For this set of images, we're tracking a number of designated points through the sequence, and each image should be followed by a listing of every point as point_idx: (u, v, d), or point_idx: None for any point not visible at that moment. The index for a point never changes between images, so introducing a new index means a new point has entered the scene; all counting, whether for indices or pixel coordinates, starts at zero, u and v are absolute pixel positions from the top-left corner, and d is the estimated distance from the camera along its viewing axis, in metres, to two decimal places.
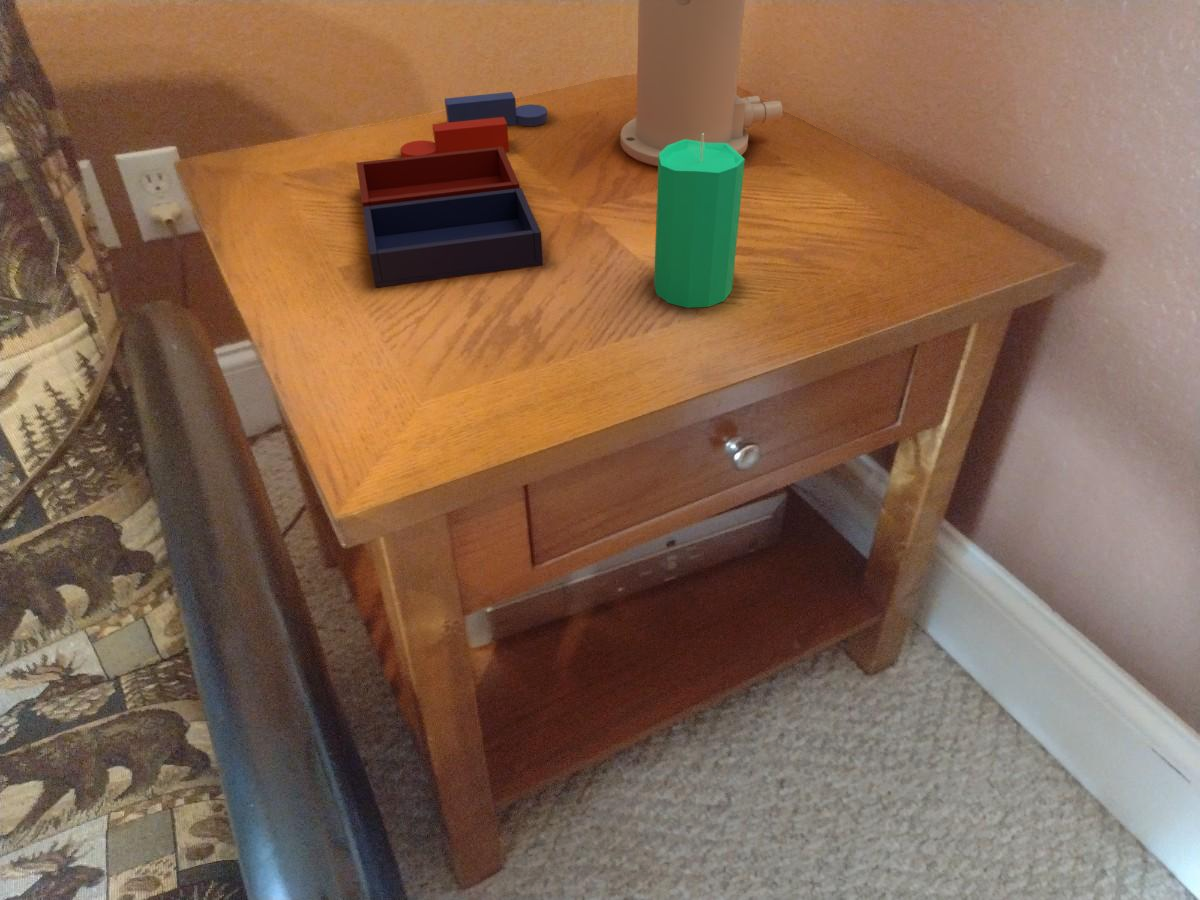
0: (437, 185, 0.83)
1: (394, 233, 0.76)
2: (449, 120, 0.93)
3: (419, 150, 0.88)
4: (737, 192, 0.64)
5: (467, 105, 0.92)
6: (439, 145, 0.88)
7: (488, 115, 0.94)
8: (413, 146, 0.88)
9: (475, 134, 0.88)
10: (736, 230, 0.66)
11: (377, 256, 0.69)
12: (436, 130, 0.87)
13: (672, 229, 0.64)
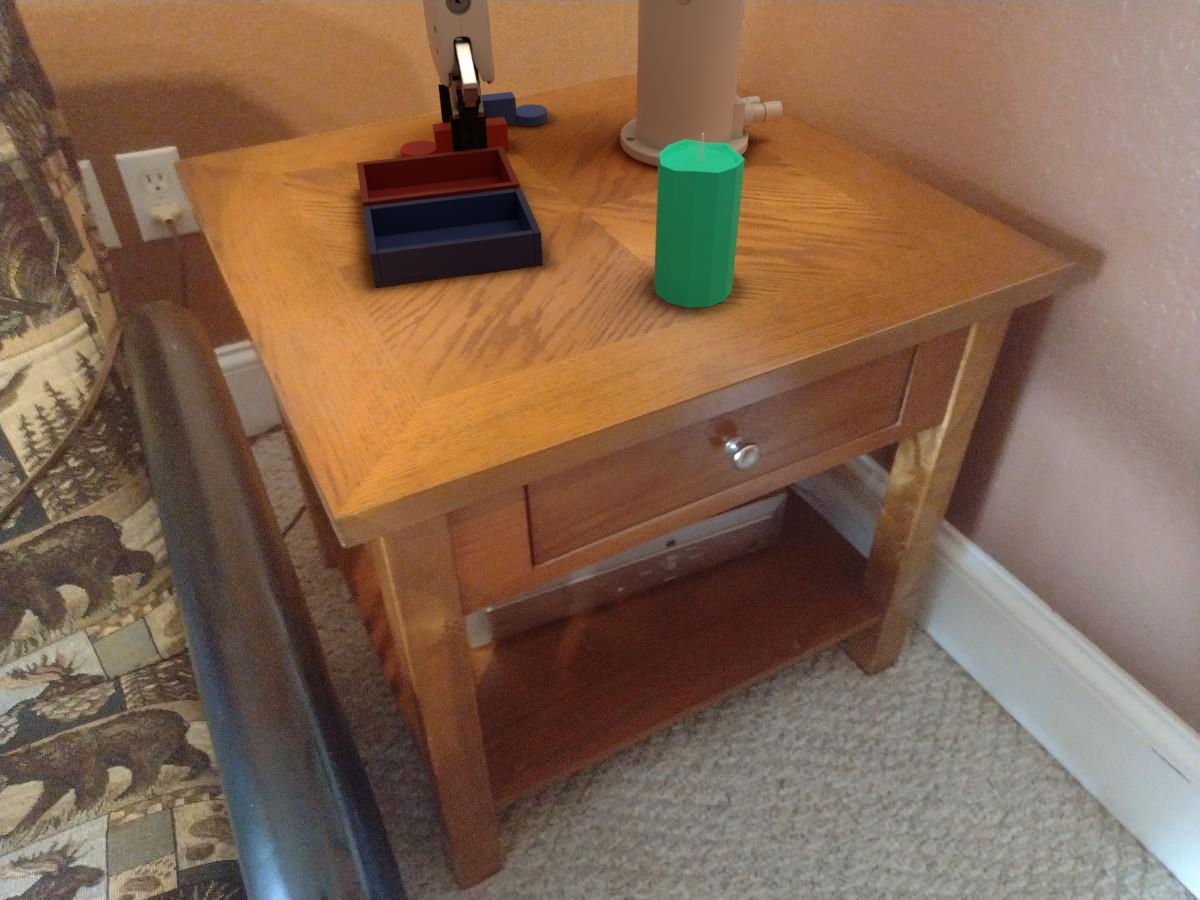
0: (437, 185, 0.83)
1: (394, 233, 0.76)
2: None
3: (419, 150, 0.88)
4: (737, 192, 0.64)
5: None
6: (439, 145, 0.88)
7: (488, 115, 0.94)
8: (413, 146, 0.88)
9: None
10: (736, 230, 0.66)
11: (377, 256, 0.69)
12: (436, 130, 0.87)
13: (672, 229, 0.64)
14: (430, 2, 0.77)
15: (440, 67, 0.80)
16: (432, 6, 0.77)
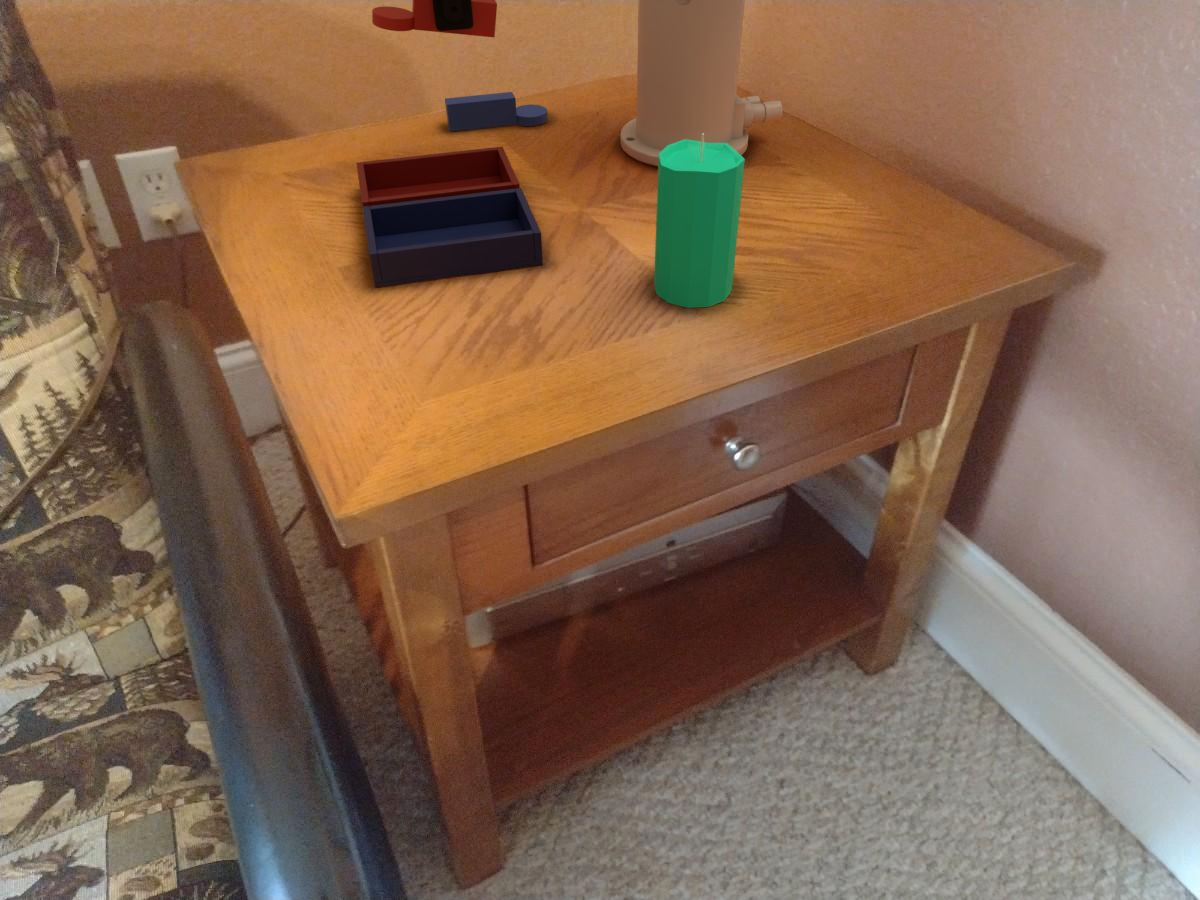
0: (437, 185, 0.83)
1: (394, 233, 0.76)
2: (449, 120, 0.93)
3: (394, 15, 0.77)
4: (737, 192, 0.64)
5: (467, 105, 0.92)
6: (417, 13, 0.77)
7: (488, 115, 0.94)
8: (388, 11, 0.78)
9: None
10: (736, 230, 0.66)
11: (377, 256, 0.69)
12: None
13: (672, 229, 0.64)
14: None
15: None
16: None
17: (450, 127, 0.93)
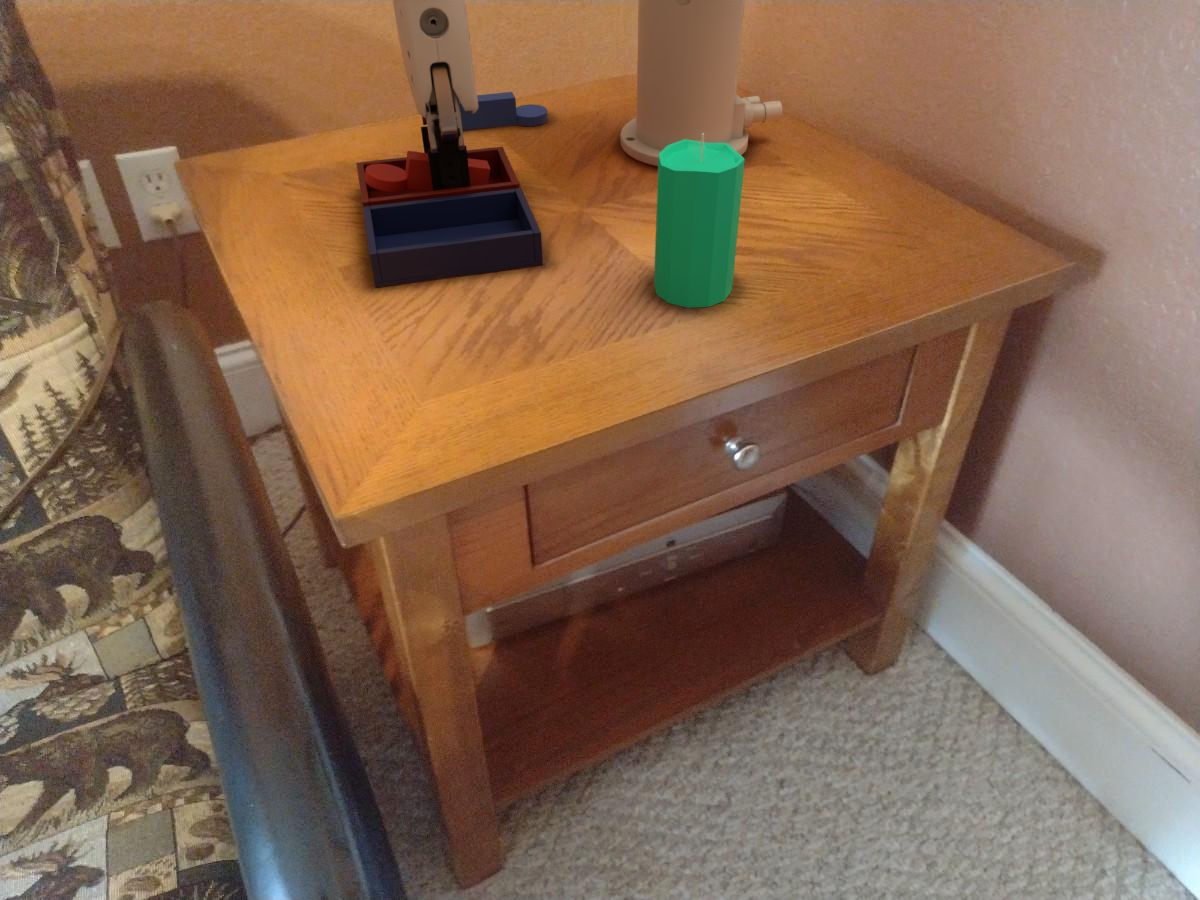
0: None
1: (394, 233, 0.76)
2: None
3: (387, 175, 0.78)
4: (737, 192, 0.64)
5: None
6: (411, 175, 0.78)
7: (488, 115, 0.94)
8: (381, 170, 0.78)
9: None
10: (736, 230, 0.66)
11: (377, 256, 0.69)
12: (411, 158, 0.77)
13: (672, 229, 0.64)
14: (402, 24, 0.68)
15: (416, 96, 0.71)
16: (405, 29, 0.68)
17: None
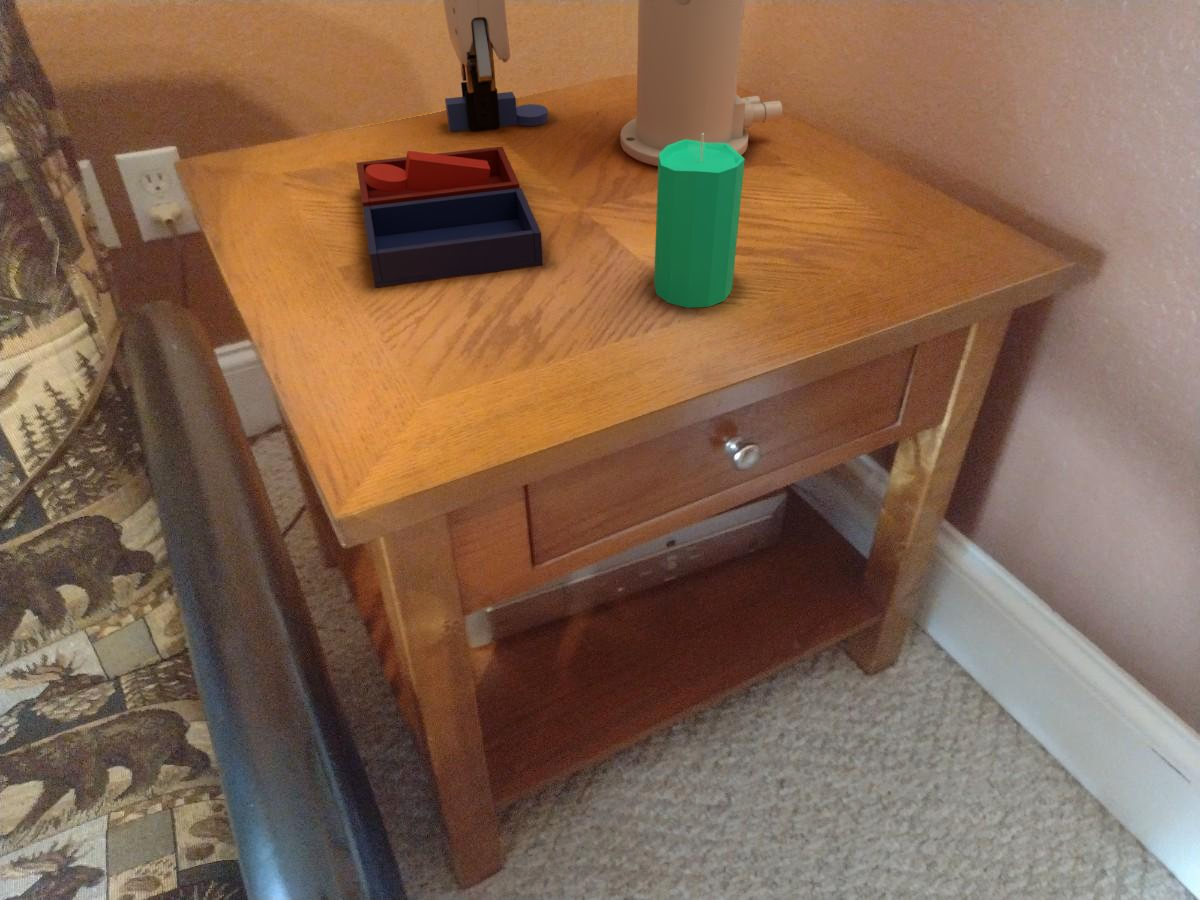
0: None
1: (394, 233, 0.76)
2: (450, 120, 0.93)
3: (387, 175, 0.78)
4: (737, 192, 0.64)
5: None
6: (411, 175, 0.78)
7: None
8: (381, 170, 0.78)
9: (453, 172, 0.79)
10: (736, 230, 0.66)
11: (377, 256, 0.69)
12: (411, 158, 0.77)
13: (672, 229, 0.64)
14: None
15: (459, 47, 0.85)
16: None
17: (450, 127, 0.93)
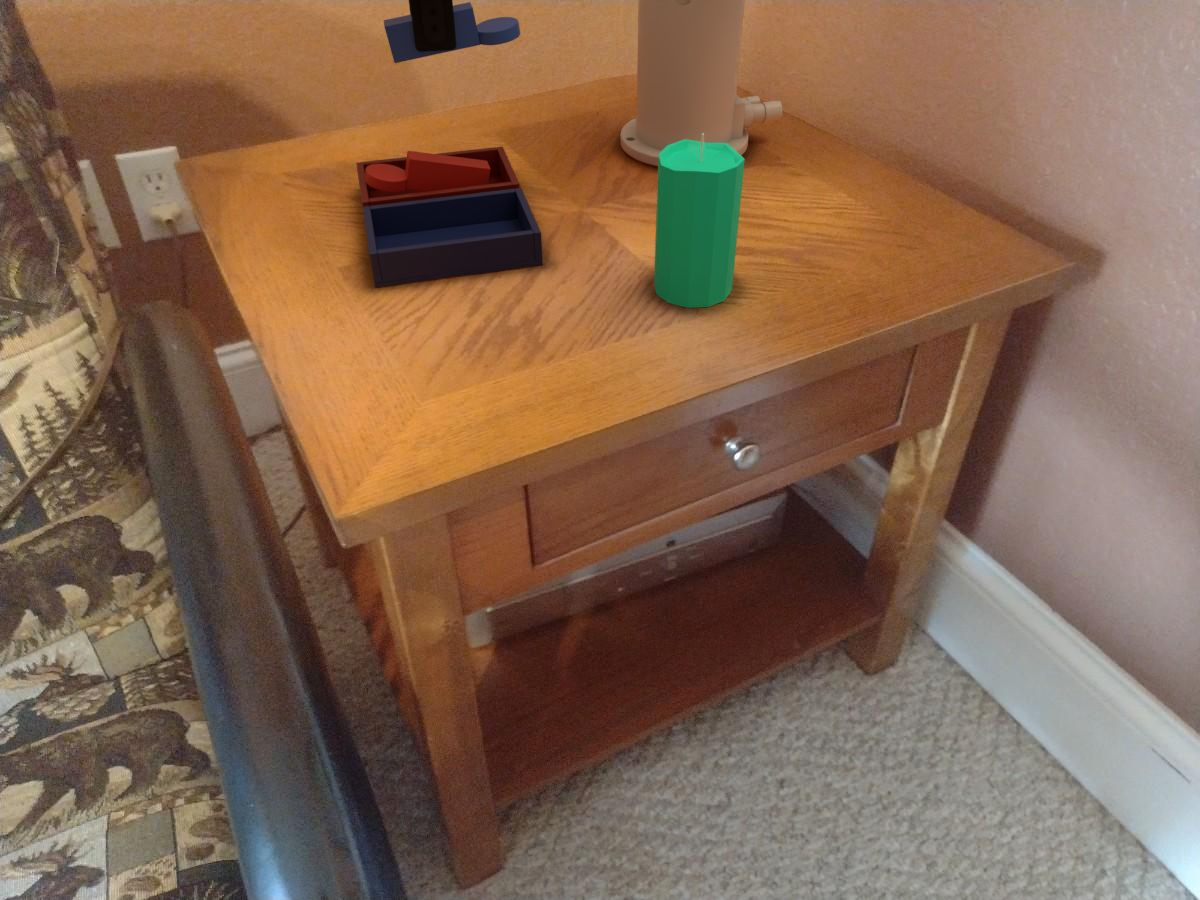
0: None
1: (394, 233, 0.76)
2: (391, 48, 0.72)
3: (387, 175, 0.78)
4: (737, 192, 0.64)
5: (411, 25, 0.71)
6: (411, 175, 0.78)
7: None
8: (381, 170, 0.78)
9: (453, 172, 0.79)
10: (736, 230, 0.66)
11: (377, 256, 0.69)
12: (411, 158, 0.77)
13: (672, 229, 0.64)
14: None
15: None
16: None
17: (394, 57, 0.72)
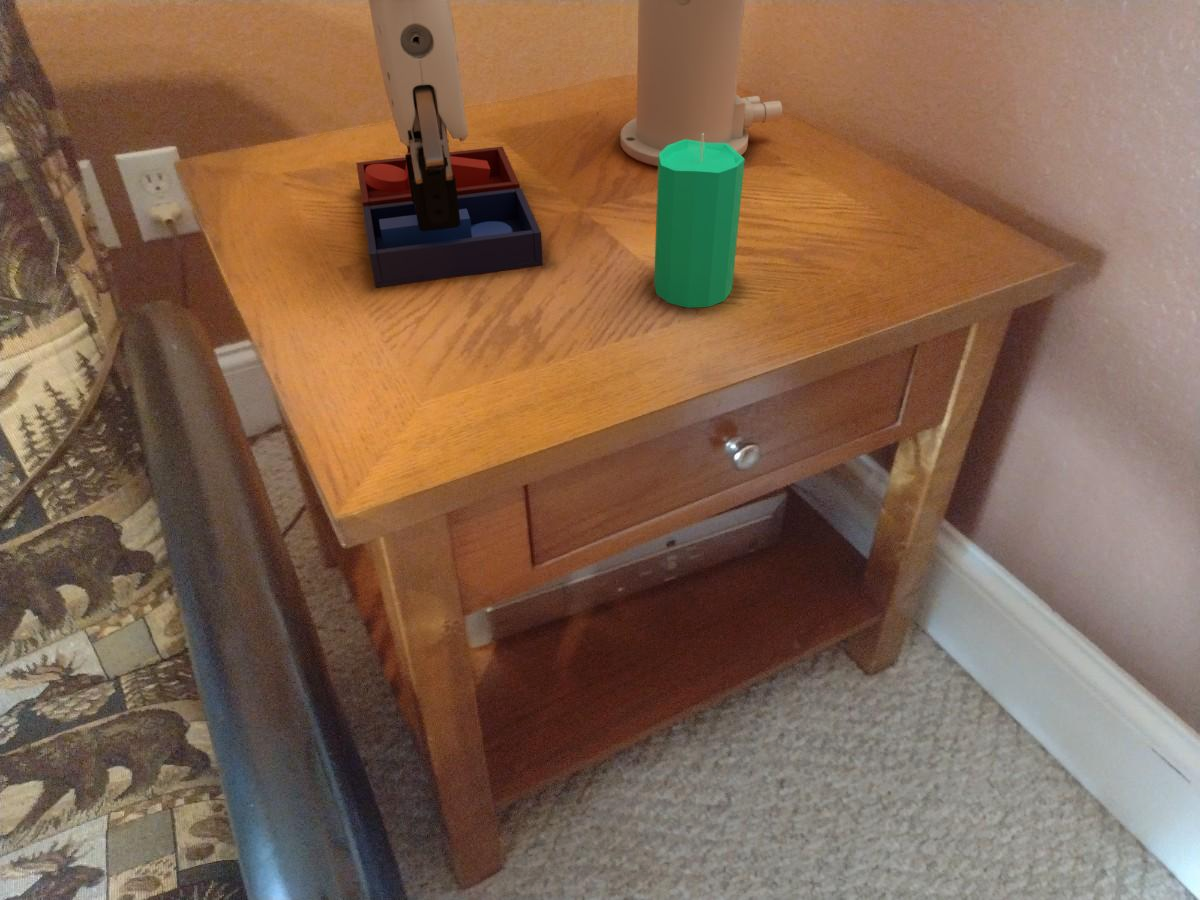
0: None
1: None
2: (385, 247, 0.72)
3: (387, 175, 0.78)
4: (737, 192, 0.64)
5: (407, 229, 0.71)
6: None
7: (436, 240, 0.73)
8: (381, 170, 0.78)
9: (453, 172, 0.79)
10: (736, 230, 0.66)
11: (377, 256, 0.69)
12: None
13: (672, 229, 0.64)
14: (381, 42, 0.60)
15: (397, 123, 0.63)
16: (384, 47, 0.60)
17: None
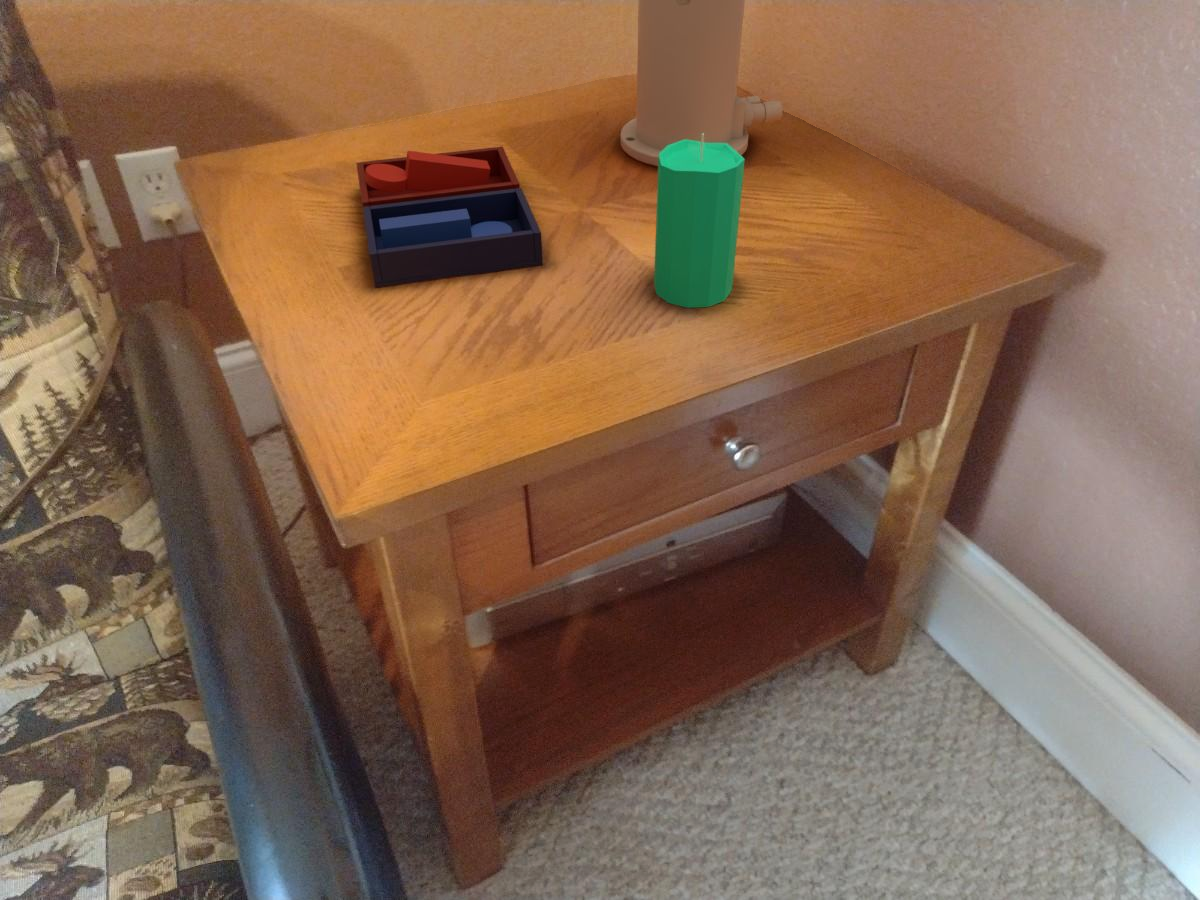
0: None
1: None
2: (385, 247, 0.72)
3: (387, 175, 0.78)
4: (737, 192, 0.64)
5: (407, 229, 0.71)
6: (411, 175, 0.78)
7: (436, 240, 0.73)
8: (381, 170, 0.78)
9: (453, 172, 0.79)
10: (736, 230, 0.66)
11: (377, 256, 0.69)
12: (411, 158, 0.77)
13: (672, 229, 0.64)
14: None
15: None
16: None
17: None
